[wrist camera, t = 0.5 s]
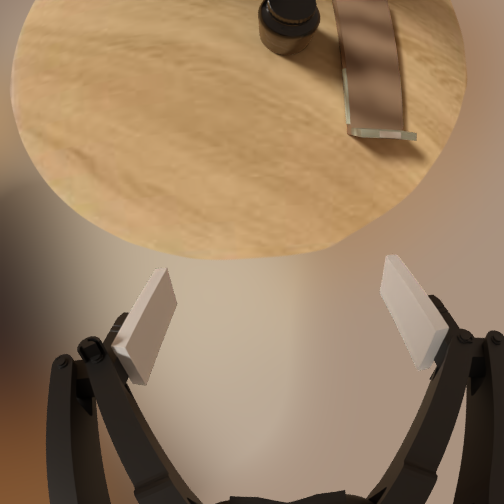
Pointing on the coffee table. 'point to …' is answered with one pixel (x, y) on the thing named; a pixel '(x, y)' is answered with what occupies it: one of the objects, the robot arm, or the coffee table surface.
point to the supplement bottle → (287, 24)
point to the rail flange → (370, 70)
